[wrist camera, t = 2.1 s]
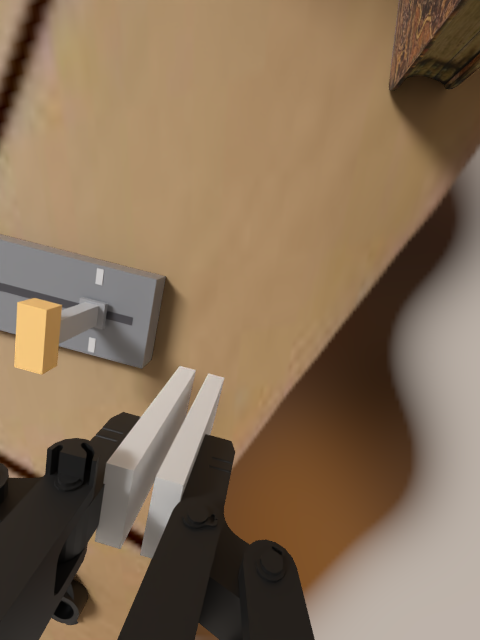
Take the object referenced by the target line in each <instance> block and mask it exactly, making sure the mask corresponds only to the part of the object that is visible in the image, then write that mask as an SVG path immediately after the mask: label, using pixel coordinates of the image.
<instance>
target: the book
mask: <svg viewBox="0 0 480 640" xmlns="http://www.w3.org/2000/svg"><path fill="white" fill-rule="evenodd" d="M479 67H480V0H399V5H398V13H397V21H396V30H395V38H394V46H393V55H392V64H391V73H390V82H389V90H396V89H397V88H398V87H399V86H400V85H401V84H402V82H403V81H404V80H405V79H406V78H408V77H411V76H426V77H430V78H433V79H435V80H437V81H439V82H441V83H442V84H444V85H445V89H453V88H455V87H457V86H458V85H459V84H460V83H462V82H463V81H464V80H465V79H466V78H468V77H469V76H470V75H471V74H472V73H473V72H475V71H476V70H477V69H478V68H479Z"/></svg>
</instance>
